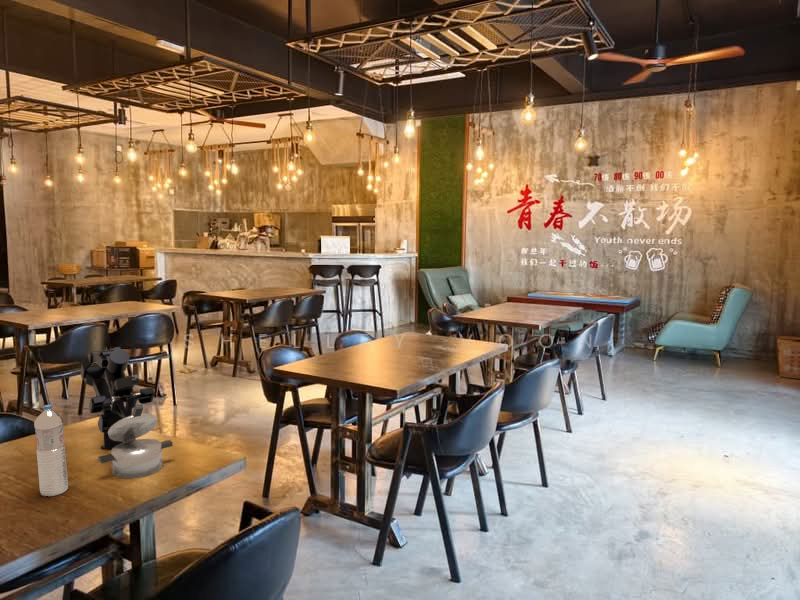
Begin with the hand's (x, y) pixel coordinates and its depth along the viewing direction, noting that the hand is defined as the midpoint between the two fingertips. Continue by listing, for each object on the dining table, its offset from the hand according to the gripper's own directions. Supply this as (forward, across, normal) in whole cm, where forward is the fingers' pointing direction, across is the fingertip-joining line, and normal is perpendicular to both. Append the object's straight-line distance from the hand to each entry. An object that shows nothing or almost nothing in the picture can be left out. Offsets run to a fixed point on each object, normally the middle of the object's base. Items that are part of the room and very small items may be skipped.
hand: (129, 422), depth 179 cm
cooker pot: (+14, 0, +5) cm, 15 cm away
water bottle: (+15, -23, +4) cm, 27 cm away
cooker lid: (+4, 0, -4) cm, 6 cm away
